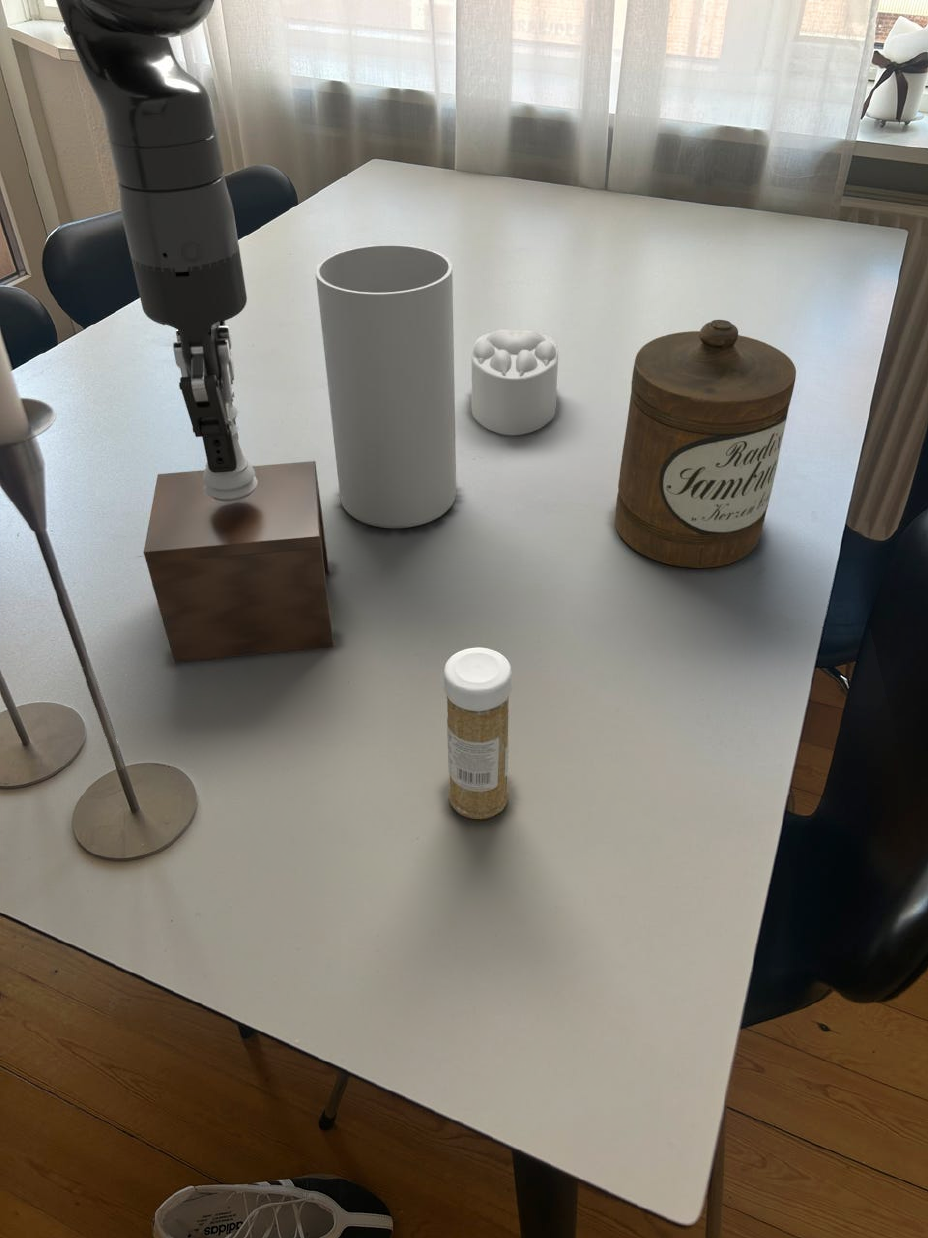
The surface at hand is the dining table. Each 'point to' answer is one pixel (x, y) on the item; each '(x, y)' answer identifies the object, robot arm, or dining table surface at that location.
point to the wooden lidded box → (240, 565)
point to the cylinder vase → (390, 381)
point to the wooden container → (702, 445)
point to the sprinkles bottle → (478, 731)
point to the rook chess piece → (231, 473)
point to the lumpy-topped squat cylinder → (514, 381)
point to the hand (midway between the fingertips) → (224, 456)
